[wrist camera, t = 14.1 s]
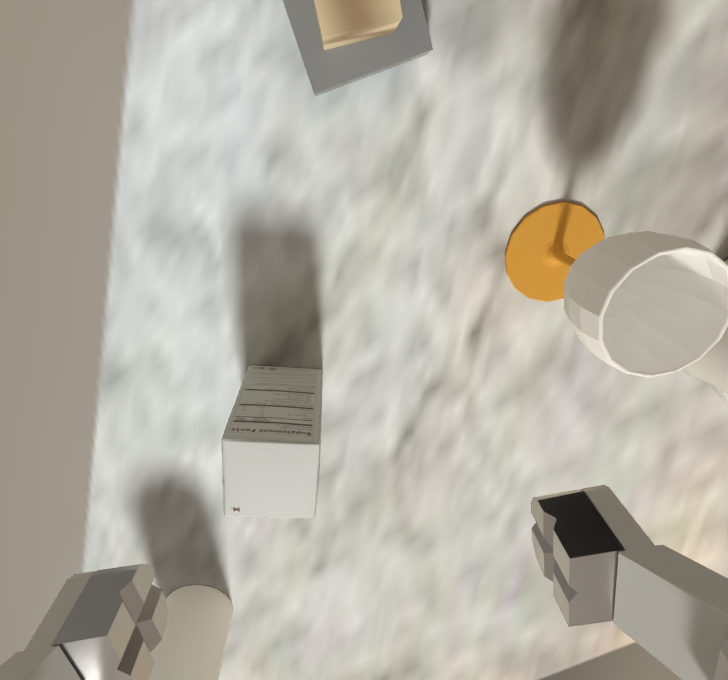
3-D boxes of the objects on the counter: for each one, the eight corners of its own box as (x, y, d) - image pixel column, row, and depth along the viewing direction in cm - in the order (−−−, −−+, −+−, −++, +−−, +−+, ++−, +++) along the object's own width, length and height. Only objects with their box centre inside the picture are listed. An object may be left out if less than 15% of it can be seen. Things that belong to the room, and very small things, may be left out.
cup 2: (613, 201, 42) (766, 239, 27) (592, 300, 45) (717, 381, 30) (511, 201, 41) (610, 240, 26) (498, 301, 45) (579, 384, 30)
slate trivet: (391, -87, 33) (396, -107, 30) (425, 55, 37) (432, 49, 34) (270, -39, 34) (264, -54, 31) (315, 96, 37) (314, 93, 35)
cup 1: (219, 578, 57) (179, 733, 42) (242, 623, 60) (212, 781, 45) (153, 593, 57) (90, 752, 42) (179, 636, 60) (130, 798, 46)
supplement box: (320, 430, 49) (315, 522, 38) (247, 426, 49) (220, 518, 37) (325, 366, 46) (322, 444, 35) (247, 361, 46) (218, 439, 34)
